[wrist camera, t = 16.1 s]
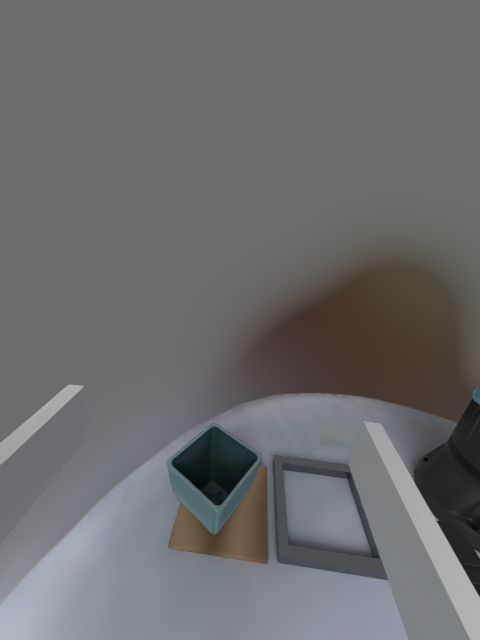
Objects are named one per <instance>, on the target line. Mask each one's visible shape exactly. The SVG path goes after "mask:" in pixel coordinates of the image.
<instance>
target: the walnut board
mask: <svg viewBox="0 0 480 640" xmlns="http://www.w3.org/2000/svg"><path fill="white" fill-rule="evenodd" d="M205 496H206V495H205ZM219 496H222V494H221V493H219ZM169 548H171V549H177V550H183V551H190V552H196V553H202V554H208V555H215V556H221V557H227V558H233V559H240V560H246V561H252V562H258V563H264V564H267V562H268V537H267V470H266V466H259V469H258V471H257V474H256V477H255V480H254V482H253V485H252V486H251V488H250V490H249V491H248V493H247V494H246V495H245V497H244V498H243V499H242V501H241V502H240V503H239V505H238V506H237V507H236V509H235V510H234V512H233V513H232V514H231V516H230V517H229V518H228V520H227V521H226V523H225V524H224V525H223V527H222V528H221V530H220V531H219V532H218V533H217V534H216V535H213V534H211V533H210V532H209V531H208V530H207V529H206V527H205V526H204V525H203V524H202V523H201V522H200V521H199V520H198V519H197V518H196V517H195V516H194V515H193V514H192V513H191V512H190V511H189V510H188V509H187V508H186V507H185V506H184V505H183V504H182V503H181V504H180V507H179V511H178V514H177V518H176V521H175V525H174V528H173V532H172V535H171V538H170V542H169Z"/></svg>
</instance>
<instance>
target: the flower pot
mask: <svg viewBox="0 0 480 640" xmlns="http://www.w3.org/2000/svg"><path fill="white" fill-rule="evenodd" d="M261 460H262V456H261V454H259V453H258V452H257V451H255V450H254V449H252V448H251V447H249V446H248V445H246V444H244V443H243V442H242V441H240V440H239V439H237V438H236V437H234V436H233V435H231V434H230V433H229V432H227V431H226V430H224V429H223V428H221V427H220V426H219V425H217V424H214V423H212V424H211V425H209V426H208V427H207V428H206V429H205V430H204V431H202V432H201V433H200V434H199V435H198V436H196V437H195V438H194V439H193V440H192V441H191V442H189V443H188V444H187V445H186V446H184V447H183V448H182V449H181V450H180V451H178V452H177V453H176V454H175V455H173V456H172V457H171V458H170V459H169V460H168V461H167V468H168V472H169V477H170V481H171V486H172V489H173V492H174V494H175V495H176V497H177V498H178V500H179V501H180V502H181V503H182V504H183V505H184V506H185V507H186V508H187V509H188V510H189V511H190V512H191V513H192V514H193V515H194V516H195V517H196V518H197V519H198V520H199V521H200V522H201V523H202V524H203V525H204V526H205V527H206V529H207V530H208V531H209V532H210V533H211V534H213V535H216V534H217V533H218V532H219V531H220V530H221V528H222V527H223V525H224V524H225V523H226V521H227V520H228V518H229V517H230V516H231V514H232V513H233V512H234V510H235V509H236V507H237V506H238V505H239V503H240V502H241V501H242V499H243V498H244V497H245V495H246V494H247V493H248V491H249V490H250V488H251V486H252V485H253V482H254V480H255V477H256V474H257V471H258V469H259V466H260V463H261ZM219 493H221V494H222V496H219ZM205 495H206V496H205Z"/></svg>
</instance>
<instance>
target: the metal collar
mask: <svg viewBox="0 0 480 640" xmlns="http://www.w3.org/2000/svg"><path fill="white" fill-rule="evenodd" d="M273 466H274V490H275V513H276V536H277V559H278V563H285V564H291V565H297V566H303V567H310V568H316V569H322V570H328V571H335V572H341V573H347V574H353V575H360V576H366V577H372V578H378V579H385V580H388V578H387V575H386V572H385V569H384V566H383V563H382V560H381V557H380V554H379V552H378V549H377V546H376V543H375V540H374V537H373V534H372V531H371V528H370V525H369V522H368V520H367V517H366V514H365V511H364V508H363V505H362V502H361V499H360V496H359V493H358V490H357V487H356V485H355V482H354V479H353V476H352V473H351V470H350V467H349V466H347V465H340V464H332V463H325V462H318V461H311V460H304V459H297V458H290V457H282V456H274V461H273ZM283 470H290V471H297V472H304V473H311V474H318V475H325V476H332V477H339V478H346V479H348V481H349V484H350V487H351V490H352V493H353V496H354V499H355V502H356V505H357V509H358V512H359V515H360V518H361V521H362V524H363V527H364V530H365V533H366V536H367V539H368V542H369V545H370V548H371V551H372V554H373V557H374V558H370V557H364V556H358V555H351V554H345V553H338V552H332V551H325V550H319V549H313V548H306V547H300V546H293V545H289V542H288V530H287V517H286V505H285V492H284V480H283Z"/></svg>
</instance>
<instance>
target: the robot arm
mask: <svg viewBox="0 0 480 640" xmlns="http://www.w3.org/2000/svg"><path fill="white" fill-rule="evenodd" d="M472 397H473V398H472V400H471V402H470V404H469V405H468V407H467V409H466V410H465V412H464V414H463V416H462V417H461V419H460V421H459V422H458V424H457V426H456V428H455V429H454V431H453V433H452V435H451V436H450V438H449V440H448V441H447V442H445V443H444V444H442V445H441V446H439V447H437V448H436V449H434V450H433V451H431V452H430V453H428V454H426V455H425V456H424V457H423V458H422V459H421V461H420V462H419V464H418V466H417V468H416V471H415V481H416V484H415V483H414V481H413V479H412V477H411V476H410V474H409V472H408V470H407V469H406V467H405V465H404V463H403V462H402V460H401V458H400V456H399V455H398V453H397V451H396V449H395V448H394V446H393V444H392V442H391V440H390V439H389V437H388V435H387V433H386V432H385V430H384V428H383V426H382V425H381V423H373V422H365V421H363V424H362V427H361V430H360V432H359V435H358V438H357V441H356V443H355V446H354V449H353V452H352V455H351V457H350V460H349V463H348V464H349V467H350V470H351V473H352V476H353V479H354V482H355V485H356V487H357V490H358V493H359V496H360V499H361V502H362V505H363V508H364V511H365V514H366V517H367V520H368V522H369V525H370V528H371V531H372V534H373V537H374V540H375V543H376V546H377V549H378V552H379V554H380V557H381V560H382V563H383V566H384V569H385V572H386V575H387V578H388V581H389V584H390V586H391V589H392V592H393V595H394V598H395V601H396V604H397V607H398V610H399V613H400V616H401V618H402V621H403V624H404V627H405V630H406V633H407V636H408V639H409V640H480V558H479V557H478V555H477V553H476V552H475V550H476V551H478V552H480V386H479V387H478V388H477V389H476V390H474V391H473V393H472ZM92 430H93V426H92V421H91V416H90V411H89V407H88V402H87V397H86V392H85V387H84V386H77V385H68V386H67V387H65V388H64V389H63V390H62V391H61V392H60V393H59V394H57V395H56V396H55V397H54V398H53V399H51V400H50V401H49V402H48V403H47V404H46V405H44V406H43V407H42V408H41V409H40V410H39V411H37V412H36V413H35V414H34V415H33V416H32V417H30V418H29V419H28V420H27V421H26V422H25V423H23V424H22V425H21V426H20V427H19V428H18V429H16V430H15V431H14V432H13V433H12V434H11V435H10V436H9V437H7V438H6V439H5V440H4V441H2V442H1V443H0V544H1V543H2V541H3V540H4V539H5V538H6V537H7V536H8V534H9V533H10V532H11V530H12V529H13V528H14V527H15V526H16V524H17V523H18V522H19V521H20V519H21V518H22V517H23V516H24V514H25V513H26V512H27V511H28V510H29V508H30V507H31V506H32V505H33V503H34V502H35V501H36V500H37V498H38V497H39V496H40V495H41V493H42V492H43V491H44V490H45V488H46V487H47V486H48V485H49V483H50V482H51V481H52V480H53V478H54V477H55V476H56V475H57V474H58V472H59V471H60V470H61V468H62V467H63V466H64V465H65V464H66V462H67V461H68V460H69V459H70V457H71V456H72V455H73V454H74V452H75V451H76V450H77V449H78V447H79V446H80V445H81V444H82V443H83V441H84V440H85V438H87V436H88V435H89V434H90V433H91V431H92ZM416 485H417V486H416ZM429 508H430V509H429ZM430 510H431V511H432V512H433V513H434V515H435V516H436V517H437V518H438V519H439V520H440V521H436V520H435V518H434V516H433V514H432V513H431V511H430ZM474 549H475V550H474Z"/></svg>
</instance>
